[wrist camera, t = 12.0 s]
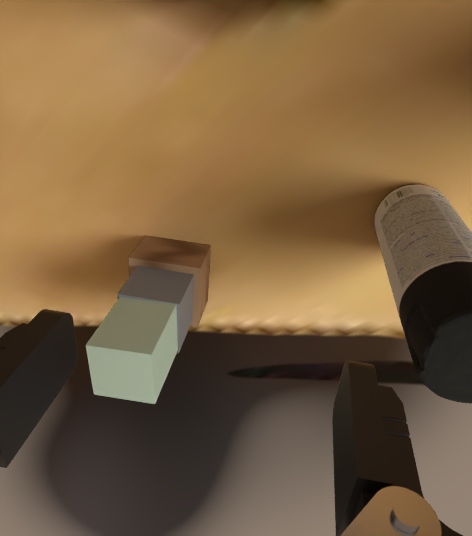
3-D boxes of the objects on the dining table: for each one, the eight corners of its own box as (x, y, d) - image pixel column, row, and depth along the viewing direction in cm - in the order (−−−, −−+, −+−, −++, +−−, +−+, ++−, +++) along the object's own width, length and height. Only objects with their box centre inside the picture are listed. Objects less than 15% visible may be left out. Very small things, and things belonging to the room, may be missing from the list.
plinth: (211, 244, 45) (200, 268, 41) (207, 300, 49) (197, 327, 44) (145, 234, 46) (128, 257, 42) (147, 290, 49) (131, 316, 45)
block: (176, 304, 37) (151, 354, 32) (177, 349, 40) (155, 404, 34) (119, 297, 38) (85, 345, 32) (124, 342, 40) (93, 394, 35)
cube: (193, 274, 41) (179, 304, 37) (191, 320, 44) (178, 353, 40) (137, 265, 42) (117, 293, 38) (139, 312, 45) (120, 343, 40)
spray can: (365, 243, 42) (399, 397, 25) (383, 175, 39) (436, 301, 22) (436, 253, 42) (520, 418, 25) (460, 185, 38) (578, 322, 21)
